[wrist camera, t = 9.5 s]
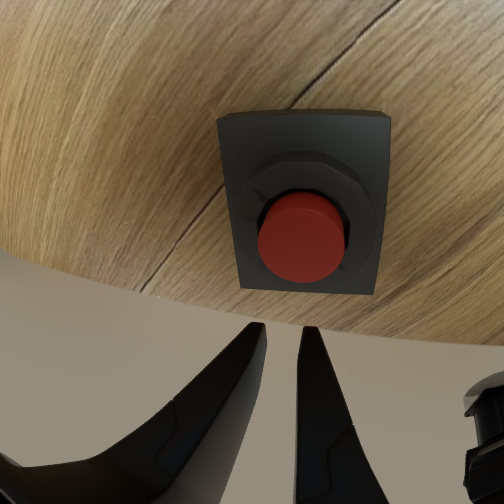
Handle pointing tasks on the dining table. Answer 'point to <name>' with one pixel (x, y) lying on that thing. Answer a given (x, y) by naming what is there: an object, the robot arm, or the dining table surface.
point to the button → (302, 237)
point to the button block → (308, 185)
